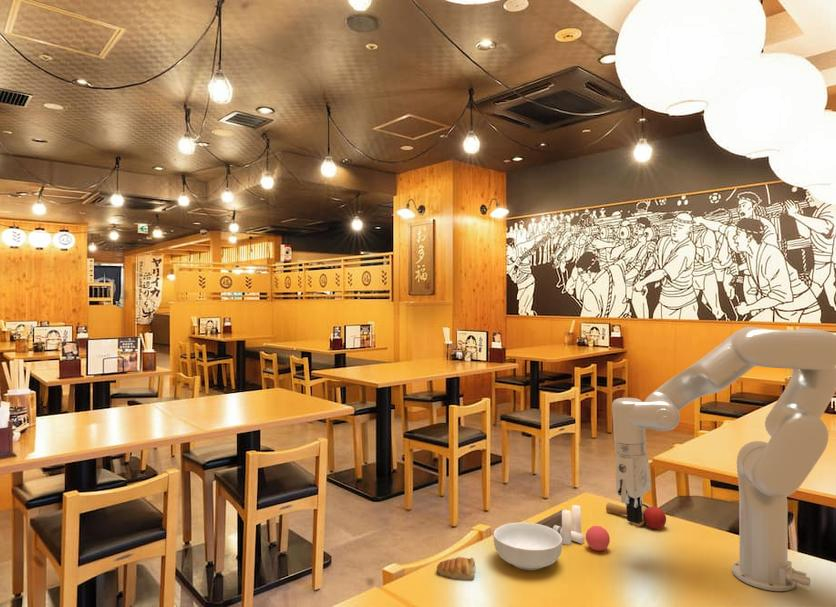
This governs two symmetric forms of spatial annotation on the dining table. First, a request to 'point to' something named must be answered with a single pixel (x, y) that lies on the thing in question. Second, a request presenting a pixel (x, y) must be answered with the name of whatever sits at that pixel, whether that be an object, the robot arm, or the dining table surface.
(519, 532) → the cereal bowl
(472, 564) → the pastry
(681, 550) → the dining table surface
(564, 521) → the pin
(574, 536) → the front pin
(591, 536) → the ball
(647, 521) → the kendama
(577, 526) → the pin
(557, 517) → the wall
